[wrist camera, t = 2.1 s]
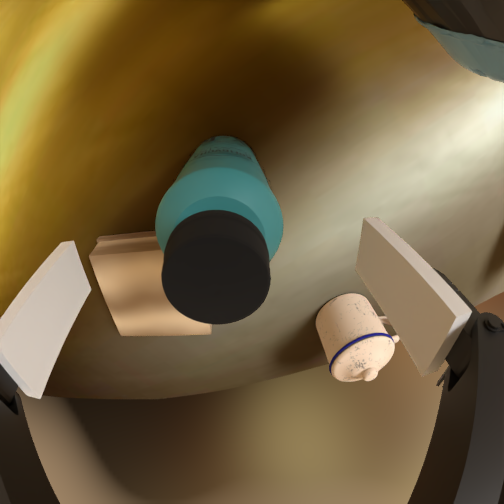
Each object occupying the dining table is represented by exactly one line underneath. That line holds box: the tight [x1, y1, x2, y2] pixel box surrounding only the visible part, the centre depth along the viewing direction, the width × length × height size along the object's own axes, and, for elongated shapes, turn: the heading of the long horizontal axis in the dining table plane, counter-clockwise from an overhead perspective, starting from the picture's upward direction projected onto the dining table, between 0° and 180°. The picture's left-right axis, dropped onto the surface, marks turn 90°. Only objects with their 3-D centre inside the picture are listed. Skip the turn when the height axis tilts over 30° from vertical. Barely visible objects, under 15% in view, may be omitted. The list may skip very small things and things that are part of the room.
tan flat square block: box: [89, 231, 212, 336], centre depth 31 cm, size 13×13×4 cm
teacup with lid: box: [316, 293, 400, 382], centre depth 34 cm, size 12×9×12 cm
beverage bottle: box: [155, 135, 283, 324], centre depth 18 cm, size 6×7×20 cm
